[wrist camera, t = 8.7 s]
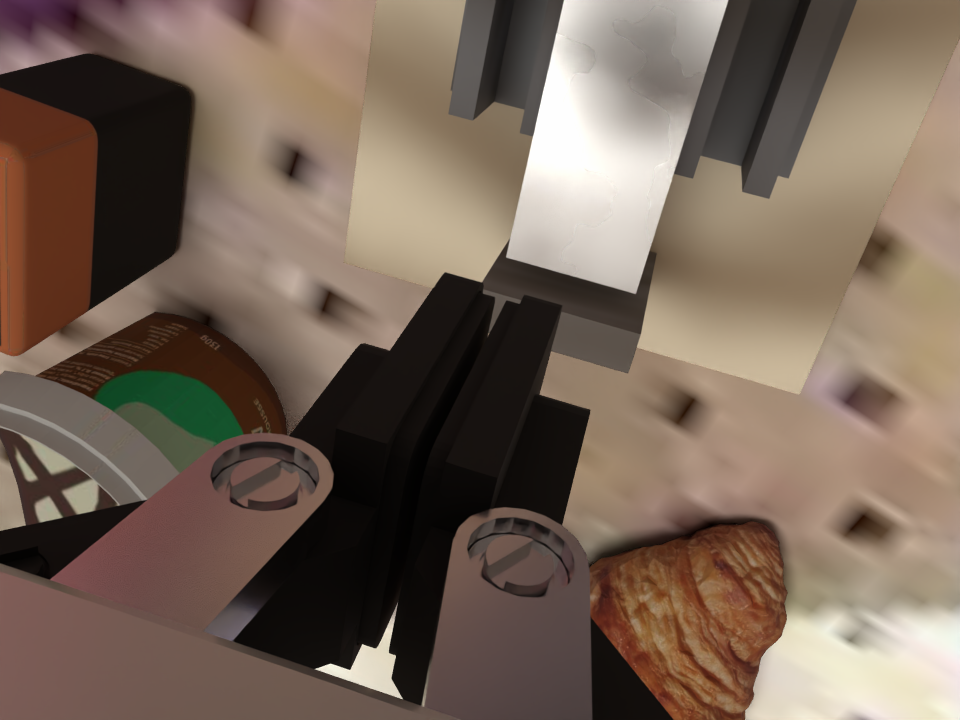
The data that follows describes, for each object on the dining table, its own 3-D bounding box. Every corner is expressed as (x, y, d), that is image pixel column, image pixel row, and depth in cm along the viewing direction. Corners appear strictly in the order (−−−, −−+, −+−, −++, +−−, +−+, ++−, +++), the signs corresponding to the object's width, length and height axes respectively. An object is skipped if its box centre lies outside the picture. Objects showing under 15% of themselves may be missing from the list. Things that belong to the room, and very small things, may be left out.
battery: (198, 87, 31) (-7, 162, 22) (180, 258, 34) (-3, 380, 26) (86, 47, 31) (-159, 105, 22) (79, 220, 34) (-136, 328, 26)
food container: (333, 540, 39) (221, 722, 30) (209, 527, 41) (69, 696, 32) (287, 282, 33) (135, 416, 25) (145, 278, 35) (-44, 402, 26)
